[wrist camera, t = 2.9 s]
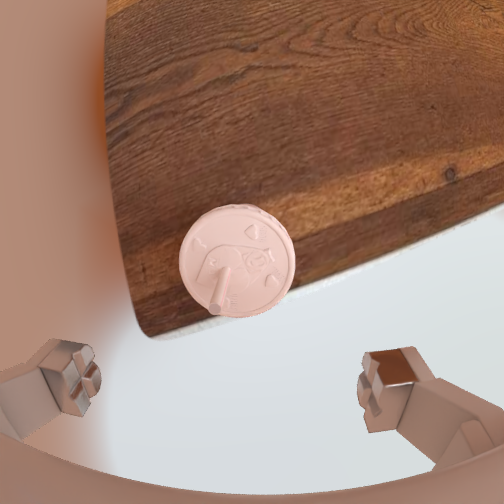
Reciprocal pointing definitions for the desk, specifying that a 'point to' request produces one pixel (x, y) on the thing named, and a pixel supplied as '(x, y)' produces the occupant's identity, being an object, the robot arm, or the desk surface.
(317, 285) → the desk surface
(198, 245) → the smoothie
